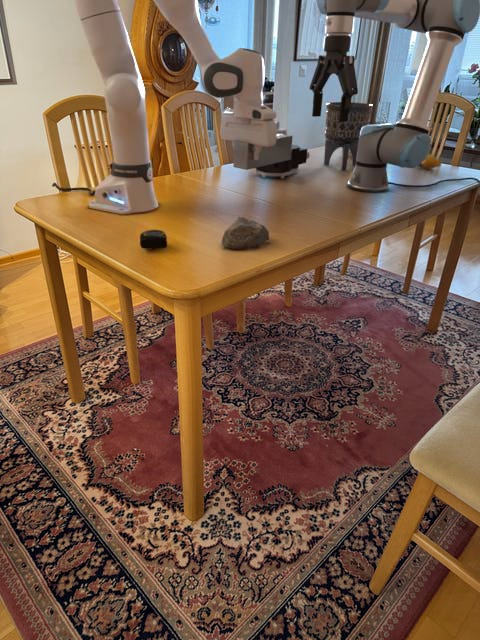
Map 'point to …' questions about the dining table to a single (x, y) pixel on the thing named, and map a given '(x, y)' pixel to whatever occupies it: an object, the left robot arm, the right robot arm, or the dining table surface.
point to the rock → (245, 234)
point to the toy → (430, 162)
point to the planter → (345, 130)
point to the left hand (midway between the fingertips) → (246, 158)
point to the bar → (262, 153)
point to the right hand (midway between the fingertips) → (329, 119)
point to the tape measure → (153, 239)
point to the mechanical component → (287, 166)
